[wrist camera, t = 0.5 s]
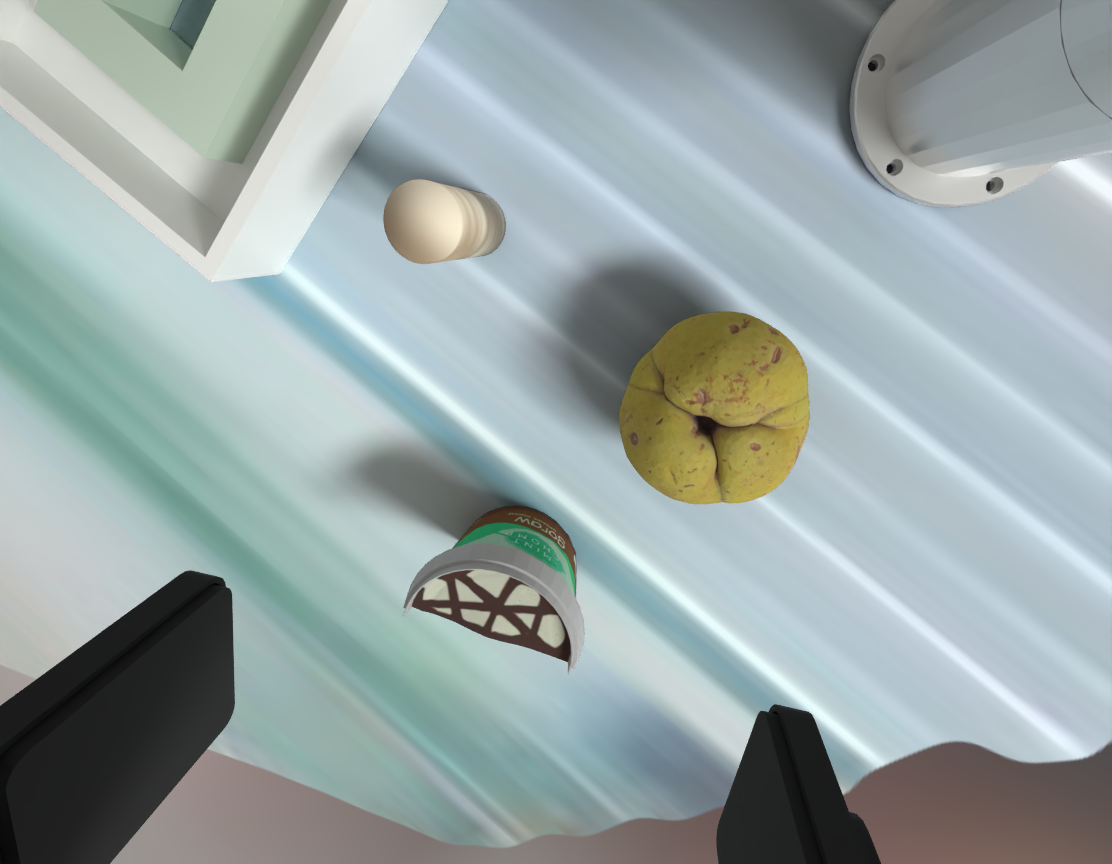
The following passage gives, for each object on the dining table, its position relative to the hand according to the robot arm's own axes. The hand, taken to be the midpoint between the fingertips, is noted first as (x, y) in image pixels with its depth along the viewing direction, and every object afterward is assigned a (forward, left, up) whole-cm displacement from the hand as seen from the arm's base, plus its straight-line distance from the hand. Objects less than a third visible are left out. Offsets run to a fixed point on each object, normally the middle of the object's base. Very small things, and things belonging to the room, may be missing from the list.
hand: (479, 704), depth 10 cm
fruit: (-3, +7, -32) cm, 33 cm away
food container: (+14, +5, -32) cm, 36 cm away
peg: (-1, -12, -32) cm, 34 cm away
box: (0, -32, -32) cm, 45 cm away
